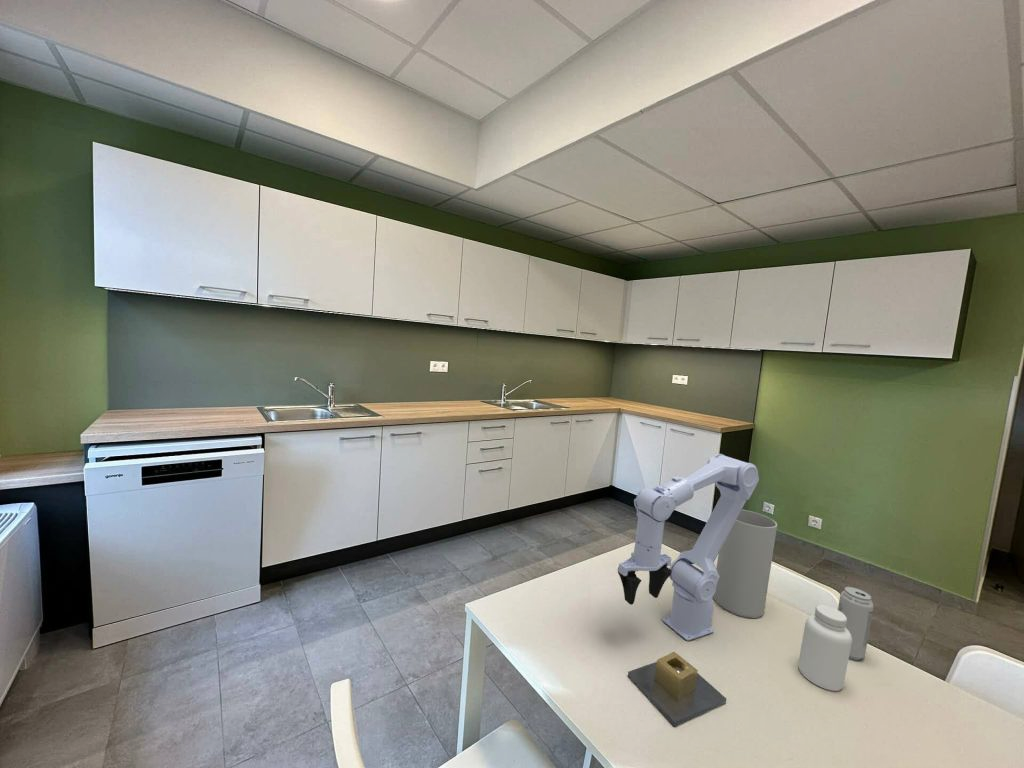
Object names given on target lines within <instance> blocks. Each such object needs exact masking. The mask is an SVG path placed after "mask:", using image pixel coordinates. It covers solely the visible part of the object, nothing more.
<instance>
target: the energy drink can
mask: <svg viewBox="0 0 1024 768" xmlns="http://www.w3.org/2000/svg"><path fill="white" fill-rule="evenodd" d="M837 610H839V611H840V612H842V613H843V614H844V615H845V616H846V618H847V623H846V629H847V630H848V631H849V632H850V634H851V637H852V644H851V649H850V654H849V660H850V659H851V660H853V661H860V660H861V659H864V658H865V657H866V653H867V648H868V647H867V646H868V640H869V635H870V629H871V623H872V618H873V612H874V603H873V601H872V595H870V594H869V593H867V592H866V591H864V590H861V589H859V588H857V587H851V586H846V587H844V590H842V591H841V593H840V596H839V601H838V607H837Z"/></svg>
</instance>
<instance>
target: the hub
mask: <svg viewBox="0 0 1024 768" xmlns="http://www.w3.org/2000/svg"><path fill="white" fill-rule="evenodd" d="M656 662H657V665H656V672H655V679H656V680H657V681H658V682H659V683H660V684H661V685H663V686H664V687H665V688H666V689H667V690H668V691H669V692H670V693H672V694H673V695H674V696H675V697H676V698H677V699H679V698H681V697H683V696H684V695H686V694H688V693H689V692H691V691H693V690H694V689H695V687H696V679H697V673H699V672H698V671H699V670H698V669H697V668H696V667H695V666H694V665H692V664H691V663H690V662H689V661H687V660H685V659H684V658H683V657H682V656H680V655H679V654H678V653H677V652H676V651H672V652H670V653H668V654H666V655H665V656H663V657H660V658H658V659H657V660H656ZM674 667H678V668H680V669H681V670H682V672H680V673H679V672H677V671H676V670H675V669H674Z"/></svg>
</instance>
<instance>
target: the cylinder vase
mask: <svg viewBox="0 0 1024 768" xmlns="http://www.w3.org/2000/svg"><path fill="white" fill-rule="evenodd" d="M777 529H778V523H777V522H776V521H775V520H774V519H772V518H770V517H768V516H767V515H764V514H762V513H759V512H755V511H751V510H748V509H747V510H746V509H743V508H742V510H741V512H740V514H739V515H738V517H737V519H736V521H735V523H734V525H733V527H732V529H731V531H730V533H729V534H728V536H727V538H726V540H725V542H724V544H723V546H722V548H721V550H720V552H719V554H718V555H717V563H716V569H717V572H718V574H719V576H720V577H719V579H718V582H717V585H716V591H715V594H714V595H713V597H712V598H713V599H714V600H715V602H716V603H717V604H718V605H719V606H720V607H722V608H723V609H724V610H726V611H728V612H730V613H732V614H734V615H736V616H739V617H743V618H749V619H754V618H755V619H756V618H760V617H761V616H763V614H764V613H765V609H766V601H767V594H768V589H769V588H768V587H769V581H770V577H771V576H770V574H771V568H772V562H773V555H774V548H775V541H776V535H777Z"/></svg>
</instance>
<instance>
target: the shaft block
mask: <svg viewBox="0 0 1024 768" xmlns="http://www.w3.org/2000/svg"><path fill="white" fill-rule="evenodd" d="M656 665H657V661H654V662H651V663H650V664H647V665H643V666H641V667H640V666H639V667H638V668H634V669H632V670H629V671H627V678H629V680H631V681H632V683H633V684H634V685H635V686H636V687H637V688H638V690H639V691H640V692H642V694H643V695H644V696H645V697H646V698H647V699H648V700H649V702H651V704H652V705H653V706H654V707H655V708H656V709H657V710H658V711H659V712H660V713H661V714H662V716H663V717H664V718H665V719H666V720H667V721H668V722H669V723H670V724H671V726H673V728H675V727H678V726H680V725H683V724H684V723H686V722H688V721H691V720H693V719H695V718H698V717H700V716H702V715H704V714H706V713H709V712H711V711H712V710H716V709H717V708H719V707H721V706H724V705H726V704H727V697H726V696H725V695H723V694H722V693H721V692H720V691H718V690H717V689H716V687H714V686H713V685H712V684H711V683H710V682H709V681H707V680H706V679H705V678H704V677H703V676H702V675H700V674H699V672H697V679H696V687H695V689H694V690H693V691H691V692H689V693H688V694H686V695H684V696H683V697H681V698H679V699H677V698H676V697H675V696H674V695H673V694H672V693H670V692H669V691H668V690H667V689H666V688H665V687H664V686H663V685H661V684H660V683H659V682H658V681H657V680H656V679H655V672H656ZM674 669H675V670H676V671H677V672H679V673H680V672H682V670H681V669H680V668H678V667H674Z"/></svg>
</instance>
